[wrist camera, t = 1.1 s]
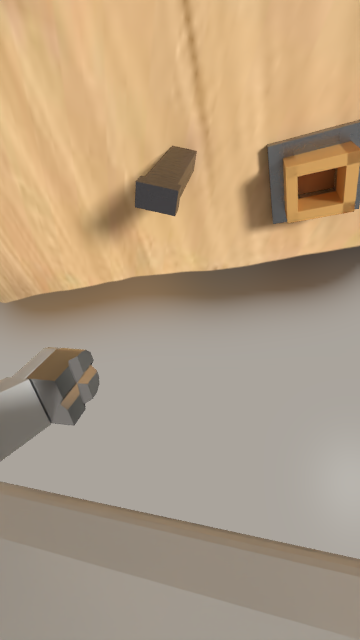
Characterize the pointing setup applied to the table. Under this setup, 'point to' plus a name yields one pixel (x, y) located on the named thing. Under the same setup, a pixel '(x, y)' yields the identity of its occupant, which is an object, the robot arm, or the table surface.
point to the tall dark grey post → (166, 181)
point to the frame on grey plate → (310, 157)
